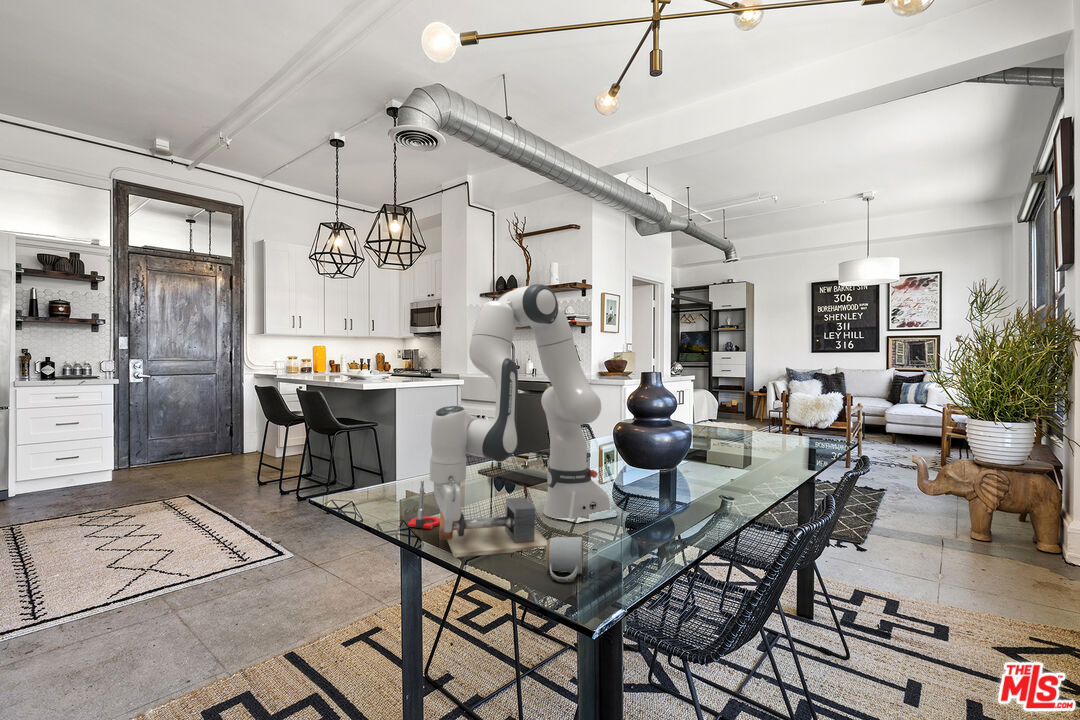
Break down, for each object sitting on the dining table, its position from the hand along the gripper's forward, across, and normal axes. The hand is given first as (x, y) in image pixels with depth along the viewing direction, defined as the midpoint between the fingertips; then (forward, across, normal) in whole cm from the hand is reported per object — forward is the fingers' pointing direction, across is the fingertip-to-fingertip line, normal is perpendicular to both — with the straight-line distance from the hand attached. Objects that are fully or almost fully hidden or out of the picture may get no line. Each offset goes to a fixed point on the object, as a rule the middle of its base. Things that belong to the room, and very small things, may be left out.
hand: (446, 528), depth 131 cm
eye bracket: (+4, 0, -19) cm, 19 cm away
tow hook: (+5, +18, +3) cm, 19 cm away
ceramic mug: (+5, -23, -23) cm, 33 cm away
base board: (+4, 0, -13) cm, 14 cm away
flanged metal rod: (+2, 0, -8) cm, 8 cm away
